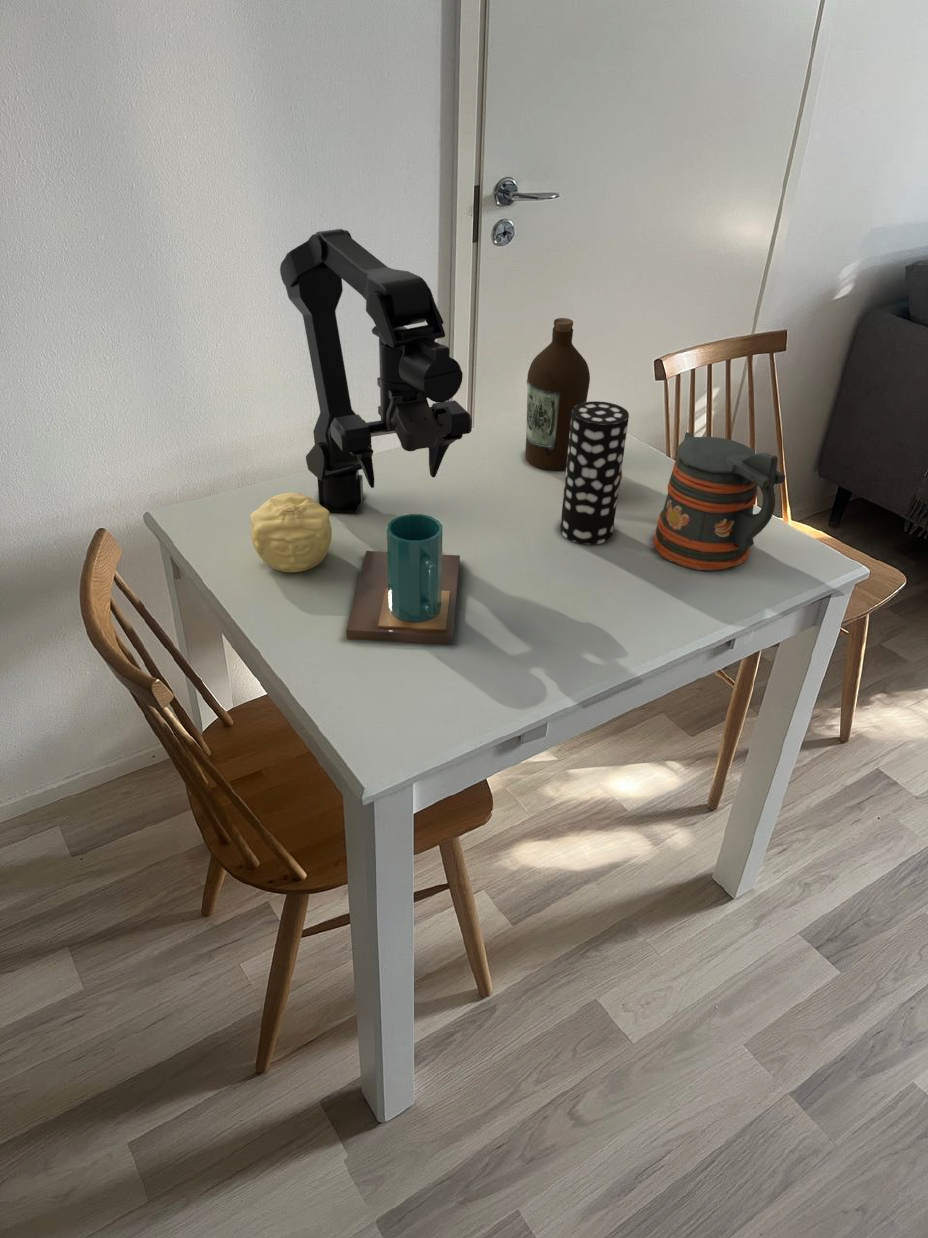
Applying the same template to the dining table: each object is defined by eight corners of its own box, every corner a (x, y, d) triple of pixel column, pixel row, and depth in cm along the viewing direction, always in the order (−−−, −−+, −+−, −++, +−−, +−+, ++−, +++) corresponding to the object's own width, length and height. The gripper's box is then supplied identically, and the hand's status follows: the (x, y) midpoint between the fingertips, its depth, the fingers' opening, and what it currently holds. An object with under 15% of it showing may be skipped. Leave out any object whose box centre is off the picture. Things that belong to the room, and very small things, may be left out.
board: (346, 639, 128) (345, 628, 127) (366, 559, 144) (365, 548, 143) (451, 644, 128) (452, 633, 127) (459, 563, 144) (460, 553, 143)
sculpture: (254, 585, 138) (246, 519, 131) (256, 541, 147) (249, 478, 141) (334, 580, 139) (331, 515, 133) (331, 537, 149) (328, 475, 142)
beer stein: (791, 568, 145) (824, 447, 134) (724, 598, 138) (753, 473, 127) (699, 515, 158) (722, 400, 146) (633, 540, 151) (651, 421, 139)
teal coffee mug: (381, 598, 133) (379, 519, 125) (429, 588, 135) (430, 510, 128) (407, 640, 125) (407, 558, 118) (458, 628, 127) (460, 547, 120)
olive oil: (548, 440, 179) (559, 305, 165) (593, 459, 173) (609, 321, 159) (509, 457, 173) (518, 319, 158) (554, 478, 167) (567, 336, 152)
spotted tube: (578, 549, 148) (592, 428, 136) (550, 524, 154) (561, 406, 142) (623, 537, 151) (640, 418, 140) (593, 513, 157) (607, 397, 146)
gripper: (352, 408, 119) (357, 519, 128) (490, 389, 125) (485, 496, 134) (326, 376, 127) (332, 482, 136) (457, 359, 133) (454, 462, 142)
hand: (402, 481), depth 137 cm, fingers open, 9 cm apart
